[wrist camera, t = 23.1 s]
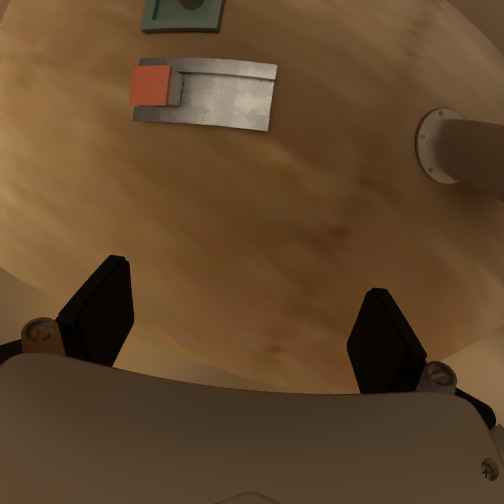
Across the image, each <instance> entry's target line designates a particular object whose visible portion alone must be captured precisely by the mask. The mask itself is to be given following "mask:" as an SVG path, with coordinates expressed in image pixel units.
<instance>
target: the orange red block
mask: <svg viewBox="0 0 504 504" xmlns="http://www.w3.org/2000/svg"><path fill="white" fill-rule="evenodd" d="M172 68H173V67H172V66H171V65H158V66H134V73H133V80H132V88H131V97H130V105H158V106H180V98H181V90H182V82H183V75H182V74H180V73H178V72H176V71H175V70H173V69H172Z"/></svg>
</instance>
